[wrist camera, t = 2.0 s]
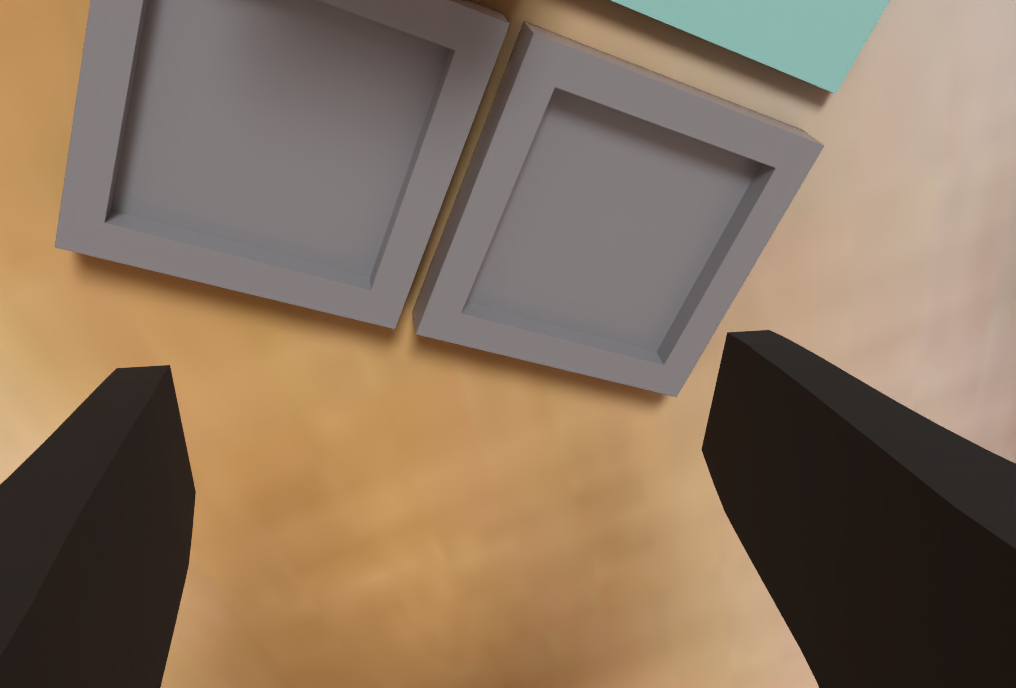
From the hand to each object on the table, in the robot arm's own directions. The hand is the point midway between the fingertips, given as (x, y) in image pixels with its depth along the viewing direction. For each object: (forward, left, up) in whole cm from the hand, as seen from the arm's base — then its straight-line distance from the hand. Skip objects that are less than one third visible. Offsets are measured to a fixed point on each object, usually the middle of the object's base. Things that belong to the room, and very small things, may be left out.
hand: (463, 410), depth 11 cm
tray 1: (+3, 0, -9) cm, 9 cm away
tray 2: (-5, 0, -9) cm, 10 cm away
